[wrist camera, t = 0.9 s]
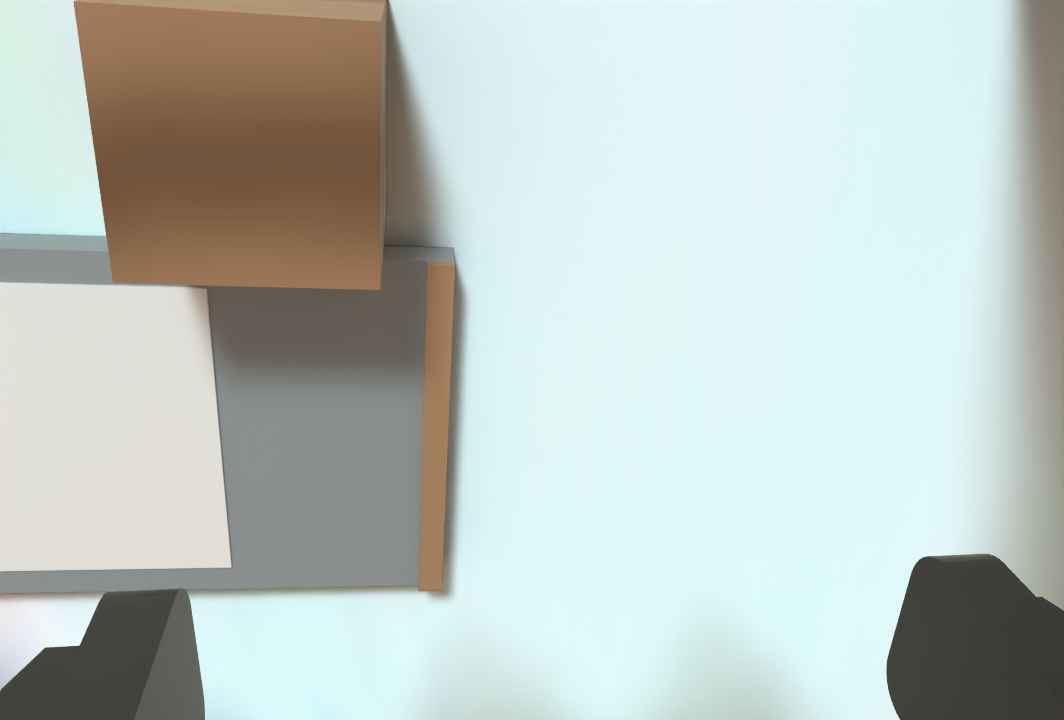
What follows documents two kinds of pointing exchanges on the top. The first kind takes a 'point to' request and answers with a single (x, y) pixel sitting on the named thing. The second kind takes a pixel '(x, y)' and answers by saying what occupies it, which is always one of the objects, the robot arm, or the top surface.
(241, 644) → the top surface
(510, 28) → the top surface
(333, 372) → the blueprint board
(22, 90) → the top surface
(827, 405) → the top surface
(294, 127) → the walnut block
